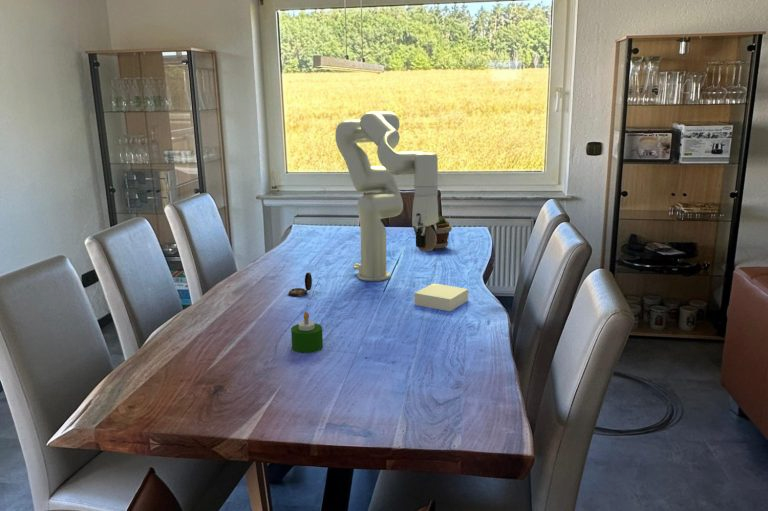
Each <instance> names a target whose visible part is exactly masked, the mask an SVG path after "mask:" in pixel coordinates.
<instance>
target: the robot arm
mask: <svg viewBox="0 0 768 511" xmlns="http://www.w3.org/2000/svg"><path fill="white" fill-rule="evenodd" d="M399 129H400V118H399V117H398V115H397V114H395V113H394V112H392V111H388V110H387V111H385V110H384V111H377V110H375V111H369V112H368V111H367V112H366V113H363V115H362V116H361V117H360V119H347V120H344V121H341V122H340V123H339V124H337V126H336V129H335V136H334V137H335V142H336V147H337V149H338V151H339V153H340V155H341V156H342V157H343V159H344V162H345V164H346V165H345V166H346V168H347V170H348V173H349V176H350V180H351V181H352V184H353V188H354V189H355V191H356V192H358V193H362V194H364V195H362V196H361V197H360V198H358V201H357V204H356V205H357V214H358V219H359V227H360V228H359V231H360V263H357V262H356V263H354V265H353V270H357V271H358V273H356V277H357V278H358V280H361V281H366V282H367V281H368V282H381V281H385V280H388V279H390V278H391V275H392V274H391V272H389V271H387V230H386V227H385V225H384V223H383V221H382V220H381V219H387V218H393V217H394V218H395V217H397V216H399V215H401V214H402V212H403V209H404V201H403V197H402V195H401V192H400V189H399V187H398V184H397V181H396V178H395V176H403V175H413V176H414V178H413V179H414V184H413V185H414V186H413V188H414V191H413V192H414V195H413V196H414V197H413V203H412V211H411V213H412V214H411V215H412V216H411V220H412V221H411V224H412V226H411V227H412V228H413V231H414V235H415V247H416V248H418V247H422V248H424V247H425V235H424V232H425V228H426V227H428V226H431V227H432V229H433V230H434V231H435V233H436V231H437V225H438V221H439V217H438V216H439V202H438V194H439V193H438V186H439V184H438V182H439V181H438V179H439V178H438V176H439V175H438V173H439V172H438V170H439V168H438V164H439V163H438V155H437V153H435V152H424V151H420V150H409V151H408V150H407V151H395V150H394V149H395V148H397V147H398V146H397V145H398V144H399V143H400V138H401V137H400V133H399ZM358 143H359V144H360V143H374V145H376V148H377V150H376V154H377V158H378V159H377V160H378V162H379V163H380V164H381V165H375V166H373V165H372V164H371V163H370V160H369V157H368V155H367V153H366V152H365V151H364V149H363V148H361V147H360V146H359V145H358ZM421 224H422V226H421ZM420 228H422V231H421V229H420Z"/></svg>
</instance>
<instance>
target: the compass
mask: <svg viewBox="0 0 768 511" xmlns="http://www.w3.org/2000/svg"><path fill="white" fill-rule="evenodd" d="M312 285H313V277H312V274H311V272H306V273H305V276H304V287H305V288H302V287H296V288H291V289H290V290H289V291H288V295H289V296H291V297H302V296H306V295H307V293H308V291H310V290H311V289H312V287H313V286H312Z"/></svg>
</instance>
